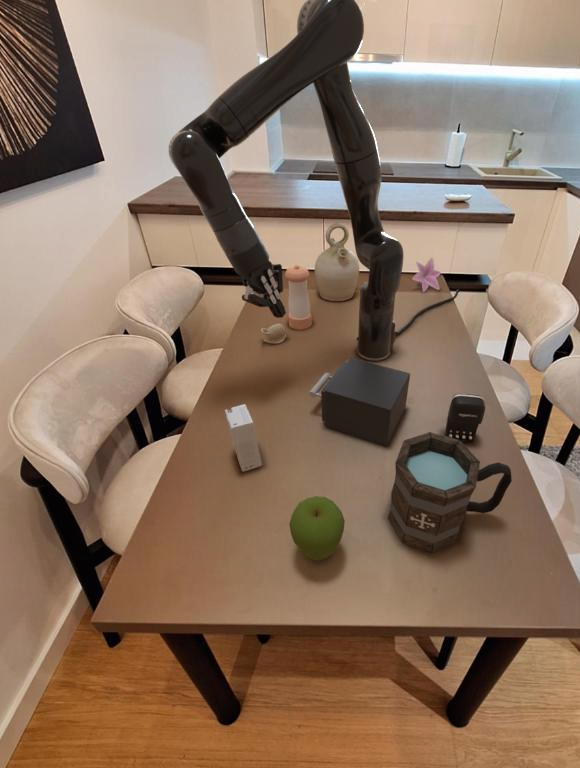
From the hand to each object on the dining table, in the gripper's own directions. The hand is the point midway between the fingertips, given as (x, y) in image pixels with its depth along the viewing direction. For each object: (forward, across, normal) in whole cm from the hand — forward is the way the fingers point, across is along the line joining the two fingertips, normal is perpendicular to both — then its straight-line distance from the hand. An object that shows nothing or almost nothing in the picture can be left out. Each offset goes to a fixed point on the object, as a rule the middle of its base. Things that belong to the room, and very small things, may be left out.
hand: (281, 315), depth 89 cm
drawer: (+23, -7, -12) cm, 27 cm away
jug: (+26, +48, +20) cm, 59 cm away
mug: (+28, -26, -38) cm, 54 cm away
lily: (+39, +68, -5) cm, 78 cm away
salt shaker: (+21, +24, +20) cm, 38 cm away
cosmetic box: (+15, -28, 0) cm, 32 cm away
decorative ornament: (+18, +13, +21) cm, 30 cm away
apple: (+20, -40, -22) cm, 50 cm away
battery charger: (+32, -5, -36) cm, 48 cm away
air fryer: (+25, -7, -16) cm, 30 cm away
